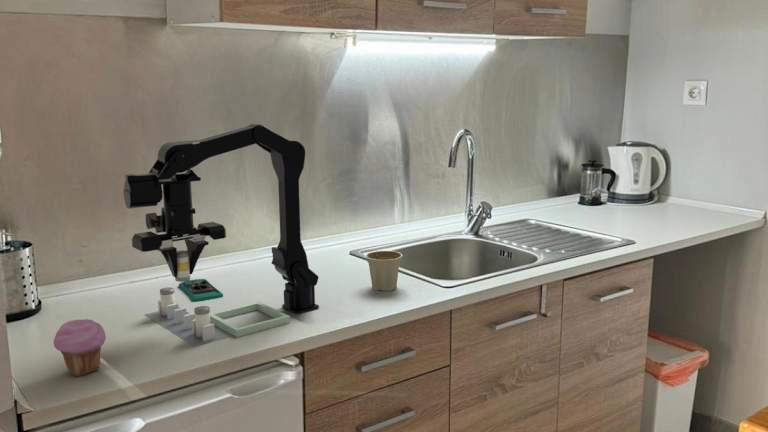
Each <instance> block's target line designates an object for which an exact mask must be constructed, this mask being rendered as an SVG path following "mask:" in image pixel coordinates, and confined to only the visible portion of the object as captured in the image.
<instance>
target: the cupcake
mask: <svg viewBox="0 0 768 432" xmlns="http://www.w3.org/2000/svg"><path fill="white" fill-rule="evenodd" d="M105 332H106V331H105V329H104V327H103V326H102V325H101V324H100V323H99V322H96V321H94V320H92V319H88V318H84V319H73V320H69V321H67V322H65V323H63V324H61V326H60V327H59V329H58V331H56V333H55V336H54V337H53V347H54V348H55V349H56V350H57V351H59V352H60V353H61V354H62V356H63V359H64V363H65V365H66V369H68V371H69V372H70V373H71V374H72V375H74V376H76V377H78V376H83V375H86V374H88V373H91V372H96V371H97V370H99V369H100V367H101V349H102V346H104V343H105V341H106V339H107V338H106V337H107V335H106V333H105Z"/></svg>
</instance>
